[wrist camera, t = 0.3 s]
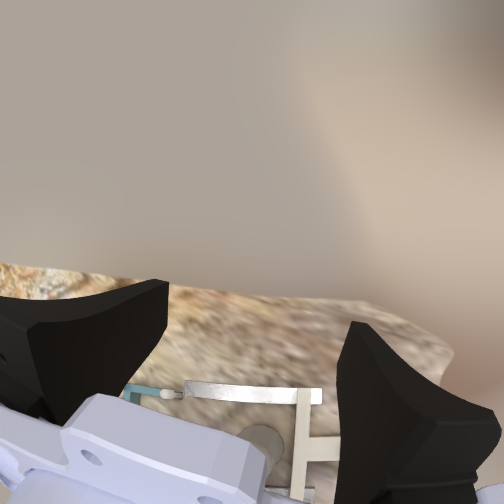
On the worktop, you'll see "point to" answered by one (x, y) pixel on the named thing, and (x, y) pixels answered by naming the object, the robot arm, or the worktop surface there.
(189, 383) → the rails
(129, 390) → the frame
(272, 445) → the salt shaker
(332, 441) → the pusher bar
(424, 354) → the worktop surface
